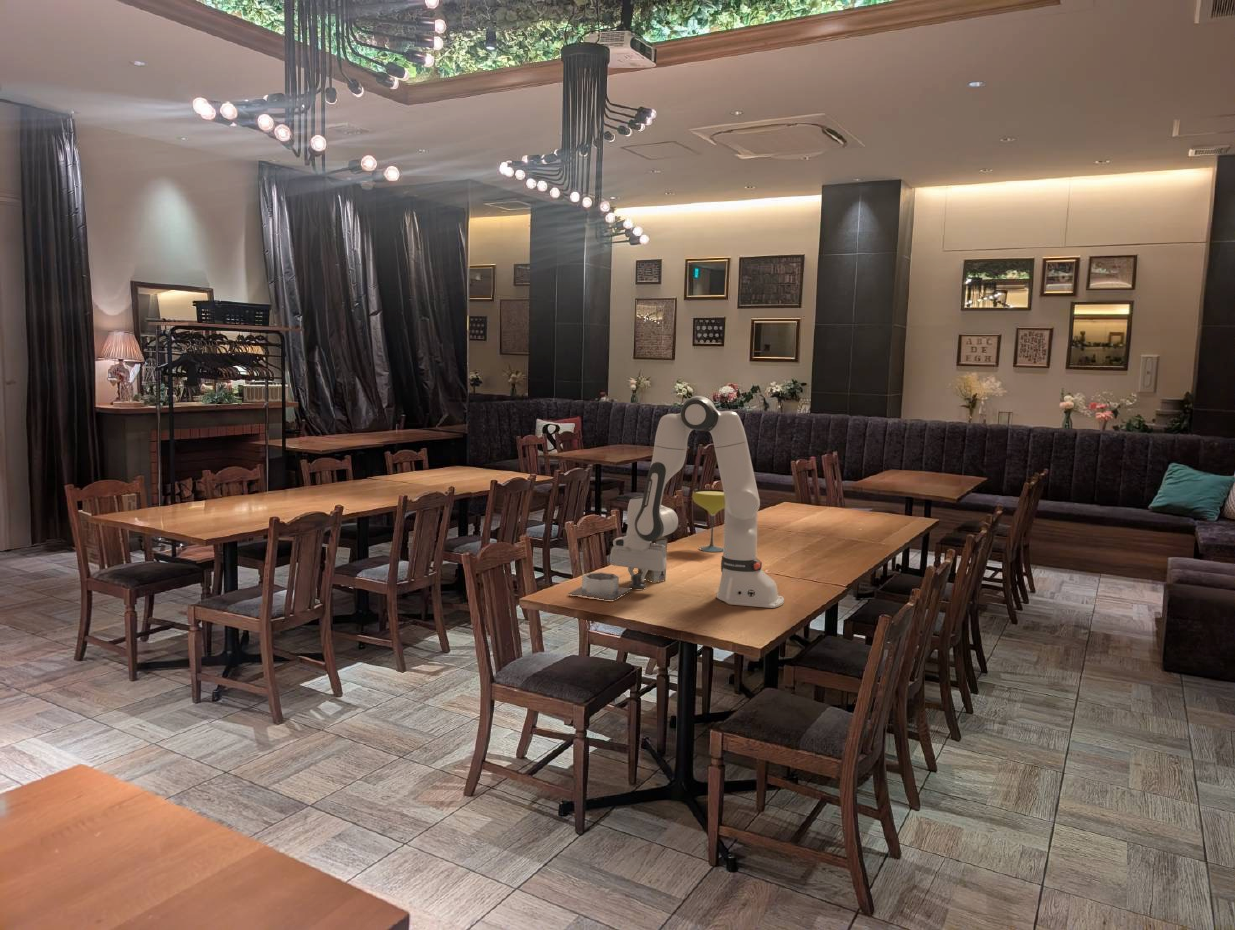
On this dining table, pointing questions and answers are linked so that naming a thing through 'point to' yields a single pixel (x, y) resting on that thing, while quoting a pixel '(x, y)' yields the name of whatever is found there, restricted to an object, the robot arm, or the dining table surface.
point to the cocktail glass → (710, 509)
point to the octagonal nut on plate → (600, 586)
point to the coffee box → (656, 575)
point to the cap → (637, 582)
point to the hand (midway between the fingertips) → (637, 580)
